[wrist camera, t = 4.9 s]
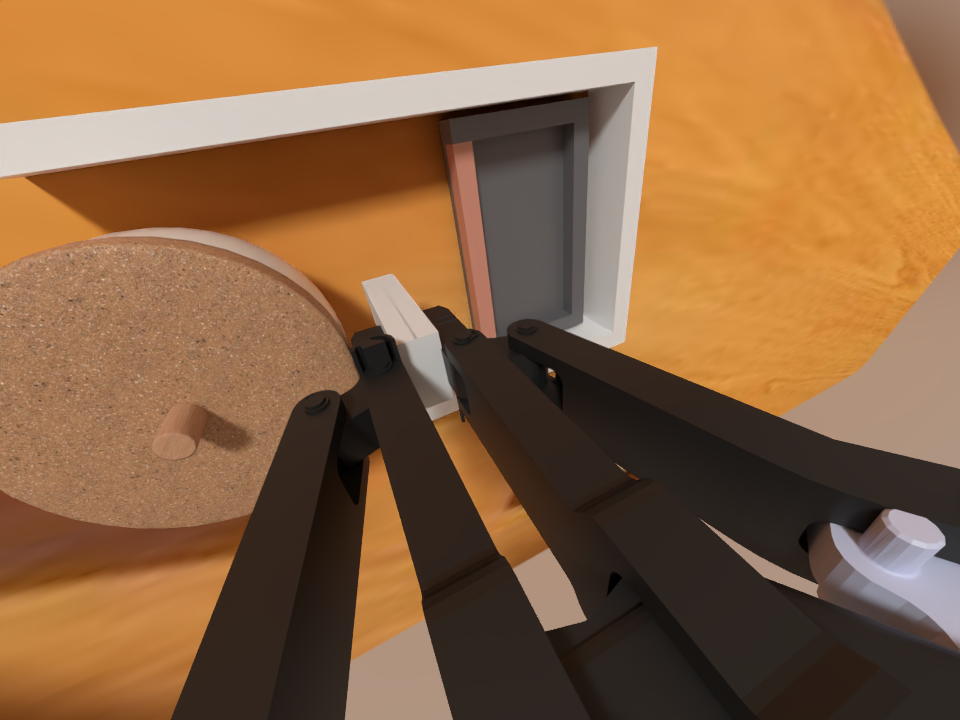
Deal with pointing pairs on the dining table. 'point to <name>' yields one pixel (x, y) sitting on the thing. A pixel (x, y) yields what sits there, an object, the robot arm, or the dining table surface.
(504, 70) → the channel
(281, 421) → the lidded jar
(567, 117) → the tray
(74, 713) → the dining table surface
